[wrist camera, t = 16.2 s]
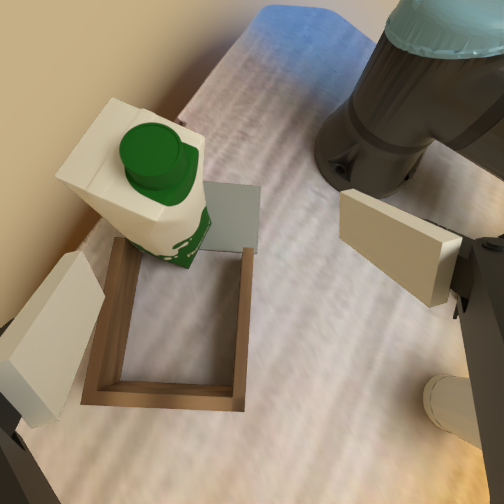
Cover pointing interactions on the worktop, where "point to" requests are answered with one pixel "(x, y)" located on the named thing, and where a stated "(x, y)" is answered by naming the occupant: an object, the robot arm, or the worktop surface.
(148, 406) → the wooden tray
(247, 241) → the mat
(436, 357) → the worktop surface
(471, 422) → the cup
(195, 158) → the soya milk
